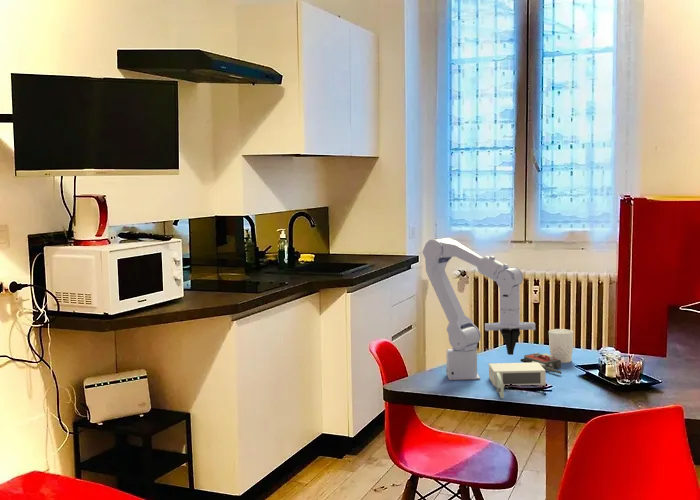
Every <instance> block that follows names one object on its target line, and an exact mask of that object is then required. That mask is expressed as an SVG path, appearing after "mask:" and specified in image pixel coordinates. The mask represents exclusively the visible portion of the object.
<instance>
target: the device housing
mask: <svg viewBox="0 0 700 500" xmlns="http://www.w3.org/2000/svg"><path fill="white" fill-rule="evenodd" d="M497 373H500V376H501V378H502V381H503V384H504V387H506V386H505V385H510V384H512V385H539V386H546V385H547V382H546V374H547V373H546V371H545V369H544V368H543V367H542V366H541V365H540V364H539V363H538V362H533V363H524V362H501V363H499V362H497V363H488V378H489V380H490V382H491V383H492V385H493V386H494V387H497Z"/></svg>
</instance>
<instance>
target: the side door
mask: <svg viewBox="0 0 700 500" xmlns="http://www.w3.org/2000/svg"><path fill="white" fill-rule="evenodd" d="M496 392H497V393H498V394H499V396H500V397H499V398H500V399H505V393H504V392H505V386H504V384H503V381H502V378H501V376H500V373H497V386H496Z"/></svg>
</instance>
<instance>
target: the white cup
mask: <svg viewBox="0 0 700 500" xmlns="http://www.w3.org/2000/svg"><path fill="white" fill-rule="evenodd" d="M548 340H549V341H548V343H549V345H548V346H549V352H550V353H549V354H550V355H553V356H554V359H558V360H561V364H568V363H569V364H570V363H571V362H572V361H573V357H572V356H573V346H574V330H572V329H565V328H554V329H550V330H548Z"/></svg>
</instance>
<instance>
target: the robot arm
mask: <svg viewBox="0 0 700 500" xmlns="http://www.w3.org/2000/svg"><path fill="white" fill-rule="evenodd" d="M422 254H423V257H424V259H425V262H424V263H425V271H426V274H427V277H428V278H429V280H430V283H431V286H432V287H433V291H434V293H435V294H436V296H437V299H438V301H439V303H440V305H441V308H442V310H443V312H444V314H445V317H446V319H447V321H448V324H447V328H446V332H447V334H448V342H449V344H450V346H451V348H448V349H446V368H445V370H446V371H445V374H446V375H447V378H448V380H449V381H453V380H455V381H457V380H460V381H461V380H462V381H463V380H481V377H480V375H479V374H478V343H479V342H480V341H481V338H482V337H481V336H482V334H481V330H480V329H479V328H478V327H477V325H475V324H474V321H473V320H472V319H471V318H469V317H468V316H466V314H465V313H464V310H463V307H462V306H461V304H460V302H459V299H458V297H457V294H456V292H455V290H454V289H453V285H452V284H451V282H450V280H449V276H448V275H447V272H446V267H447V265H448V264H449V262H450V261H451V260H452V258H458V259H459V260H462V261H463V262H466V263H469V264H470V265H472V266H474V267H476V268H477V271H478V273H480V274H481V275H483V276H484V277H487V278H489V279H490V280H492V281H494V282H496V285H497V286H498V288H499V307H500V308H499V314H500V315H499V322H490V323H489V322H488V323H484V330H485V331H486V332H489V331H500V334H501V336H502V338H503V340H504V344H505V348H506V353H507V355H508V356H510V355H511V356H512V355H514V351H515V347H516V344H517V341H518V340H519V339H518V338H520V336H521V330H522V331H523V330H524V331H525V330H526V331H527V330H531V331H536V323H535V322H534V321H532V322H531V321H529V322H528V321H527V322H526V321H525V322H524V321H521V292H520V291H521V289H520V288H521V287H520V286H521V284H522V283H523V280H524V274H523V272H522V271H521V270H520V269H519V268H518V267H516V266H511V267H509V264H508V263H502V262H501V261H499V260H497V259H496V256H494V255H486V256H485V255H484V256H481V255H480V254H478V253H476V252H474V251H472V249H469V248H468V247H466V246H465V245H463V244H462V243H460V242H459V241H457V240H455V239H453V238H451V237H448V236H447V237H443V238H438V239H437V238H436V239H433V238H432V239H429V240H428V241H427V242H425V244H424V247H423V250H422Z"/></svg>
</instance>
